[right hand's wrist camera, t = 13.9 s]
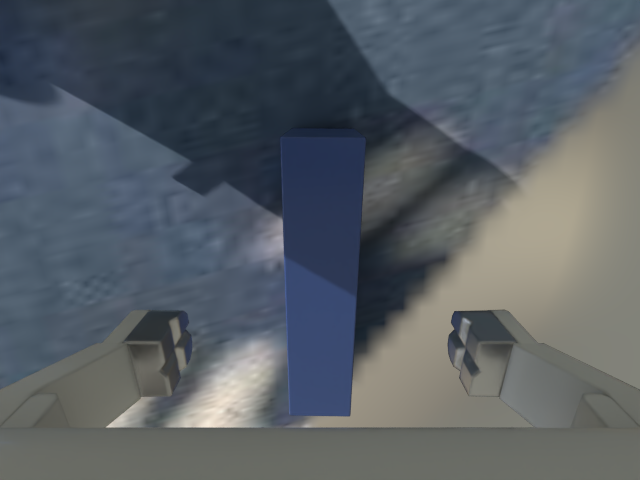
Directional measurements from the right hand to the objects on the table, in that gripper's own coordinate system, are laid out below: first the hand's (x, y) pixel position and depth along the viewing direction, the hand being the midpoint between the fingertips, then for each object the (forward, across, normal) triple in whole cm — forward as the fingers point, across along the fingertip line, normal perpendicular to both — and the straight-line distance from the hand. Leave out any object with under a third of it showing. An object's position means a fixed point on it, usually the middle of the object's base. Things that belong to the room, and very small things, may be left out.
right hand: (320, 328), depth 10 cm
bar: (+20, 0, +7) cm, 21 cm away
